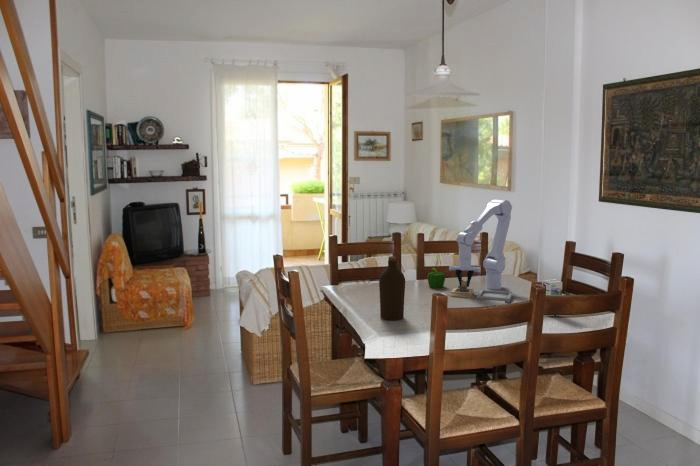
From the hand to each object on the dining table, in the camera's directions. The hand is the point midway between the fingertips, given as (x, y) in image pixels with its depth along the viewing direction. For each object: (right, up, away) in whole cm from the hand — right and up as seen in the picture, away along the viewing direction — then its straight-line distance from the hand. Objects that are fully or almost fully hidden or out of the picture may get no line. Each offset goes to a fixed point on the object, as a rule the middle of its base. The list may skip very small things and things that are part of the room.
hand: (464, 286), depth 293 cm
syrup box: (+29, -9, -37) cm, 48 cm away
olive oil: (-37, -10, -40) cm, 56 cm away
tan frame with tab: (-1, -3, -4) cm, 5 cm away
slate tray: (+12, -5, -8) cm, 15 cm away
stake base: (-1, -4, -4) cm, 6 cm away
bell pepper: (-12, -3, +13) cm, 17 cm away
